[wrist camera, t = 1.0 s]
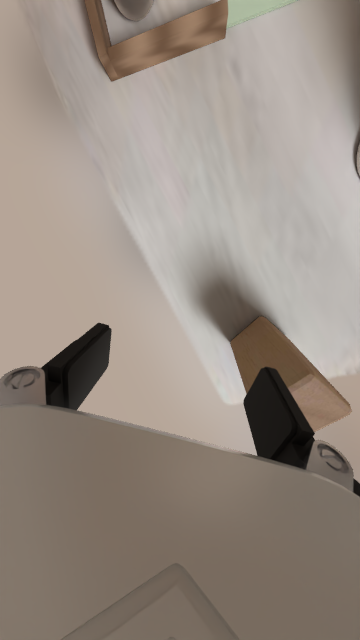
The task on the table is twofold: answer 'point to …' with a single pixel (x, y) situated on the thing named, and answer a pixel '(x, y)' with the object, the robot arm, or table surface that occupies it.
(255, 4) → the mat
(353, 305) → the table surface
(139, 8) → the plastic bottle
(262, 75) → the table surface
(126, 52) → the bottle rack
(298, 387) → the block
